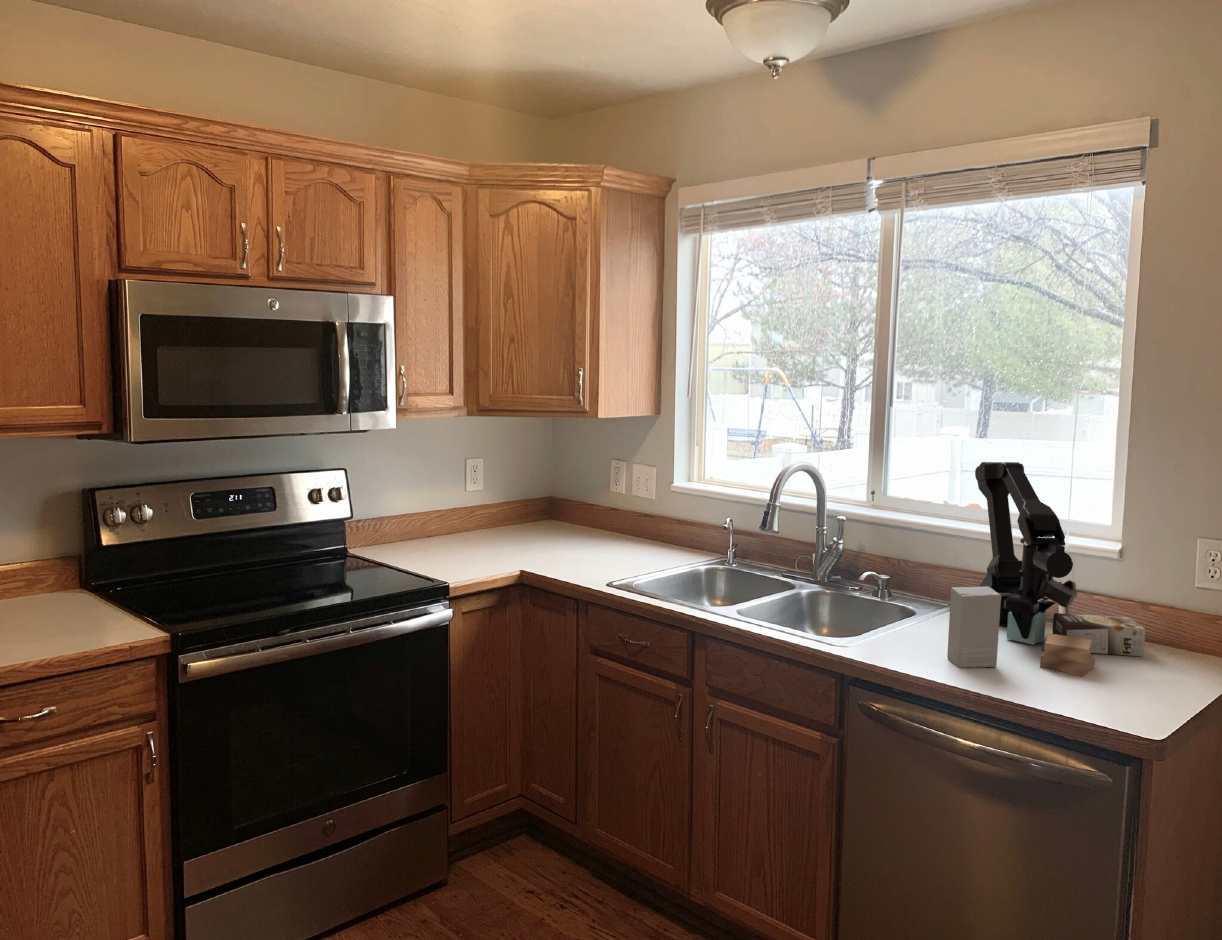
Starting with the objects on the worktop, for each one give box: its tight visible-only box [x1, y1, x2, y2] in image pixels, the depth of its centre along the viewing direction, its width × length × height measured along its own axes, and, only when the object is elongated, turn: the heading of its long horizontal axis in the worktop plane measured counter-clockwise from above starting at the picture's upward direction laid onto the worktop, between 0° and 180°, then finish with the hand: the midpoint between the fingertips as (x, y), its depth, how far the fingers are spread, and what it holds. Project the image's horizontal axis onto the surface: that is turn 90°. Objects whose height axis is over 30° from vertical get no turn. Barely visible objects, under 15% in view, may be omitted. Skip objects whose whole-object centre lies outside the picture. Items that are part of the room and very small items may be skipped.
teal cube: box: [1006, 612, 1047, 646], centre depth 211 cm, size 6×6×6 cm
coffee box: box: [1052, 612, 1146, 657], centre depth 207 cm, size 9×6×16 cm
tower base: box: [1039, 653, 1096, 678], centre depth 193 cm, size 8×8×3 cm
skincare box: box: [946, 586, 1001, 669], centre depth 194 cm, size 8×7×16 cm
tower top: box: [1043, 633, 1092, 664], centre depth 193 cm, size 8×8×3 cm
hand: (1030, 635), depth 211 cm, fingers closed on teal cube, 6 cm apart
